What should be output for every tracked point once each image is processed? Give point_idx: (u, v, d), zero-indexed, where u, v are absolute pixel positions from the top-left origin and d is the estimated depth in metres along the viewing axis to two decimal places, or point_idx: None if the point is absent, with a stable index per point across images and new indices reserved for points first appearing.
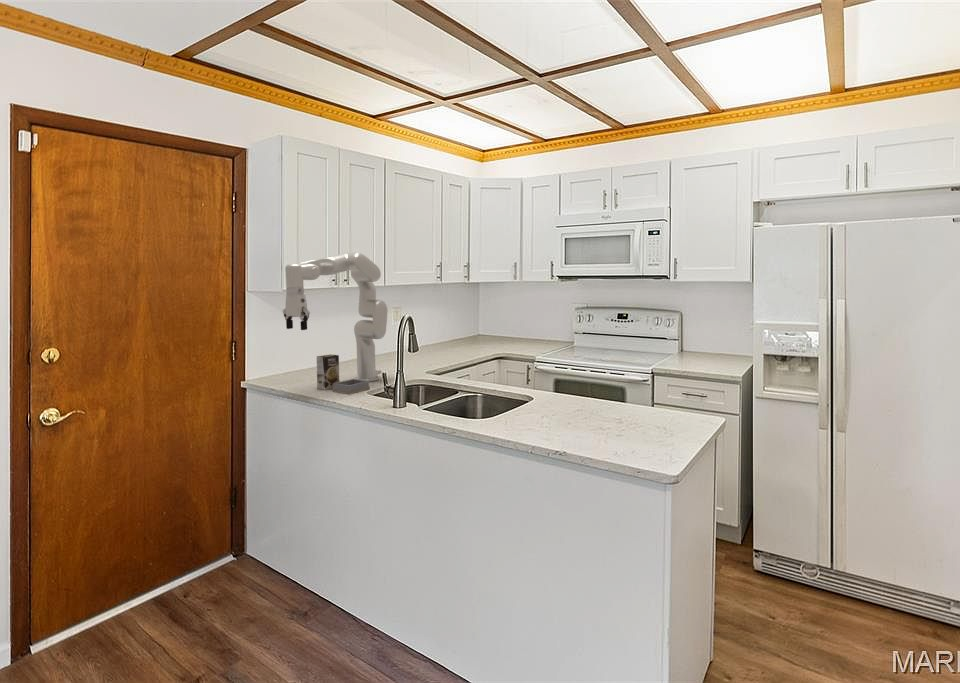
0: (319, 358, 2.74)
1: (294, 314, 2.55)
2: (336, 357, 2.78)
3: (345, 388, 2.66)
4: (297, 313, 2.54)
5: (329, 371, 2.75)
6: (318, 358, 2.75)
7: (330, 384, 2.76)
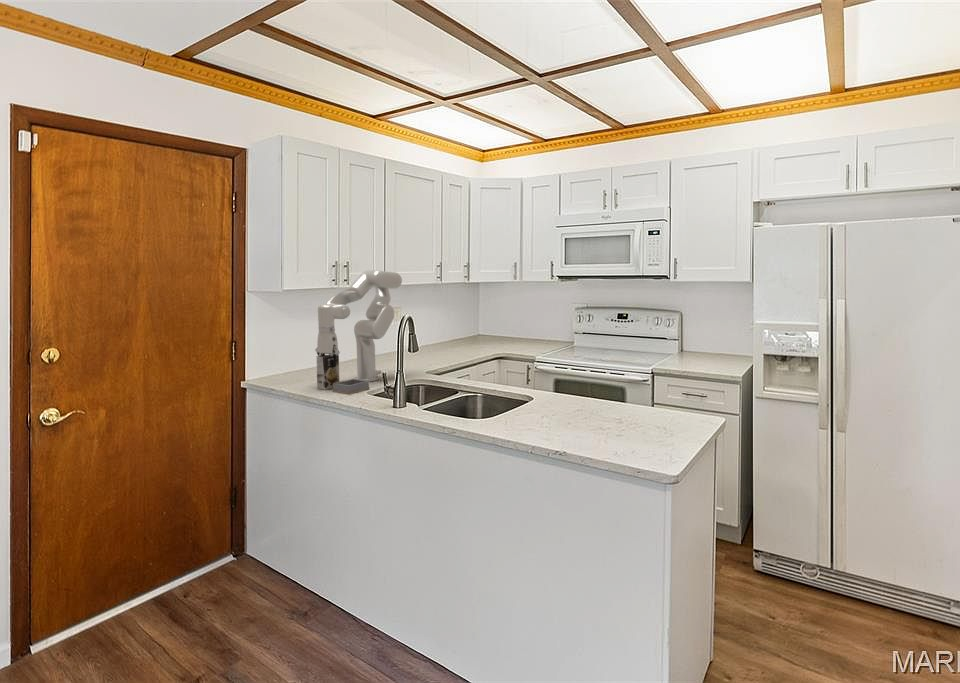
0: (319, 358, 2.74)
1: (326, 351, 2.75)
2: None
3: (345, 388, 2.66)
4: (329, 351, 2.73)
5: (329, 371, 2.75)
6: (318, 358, 2.75)
7: (330, 384, 2.76)
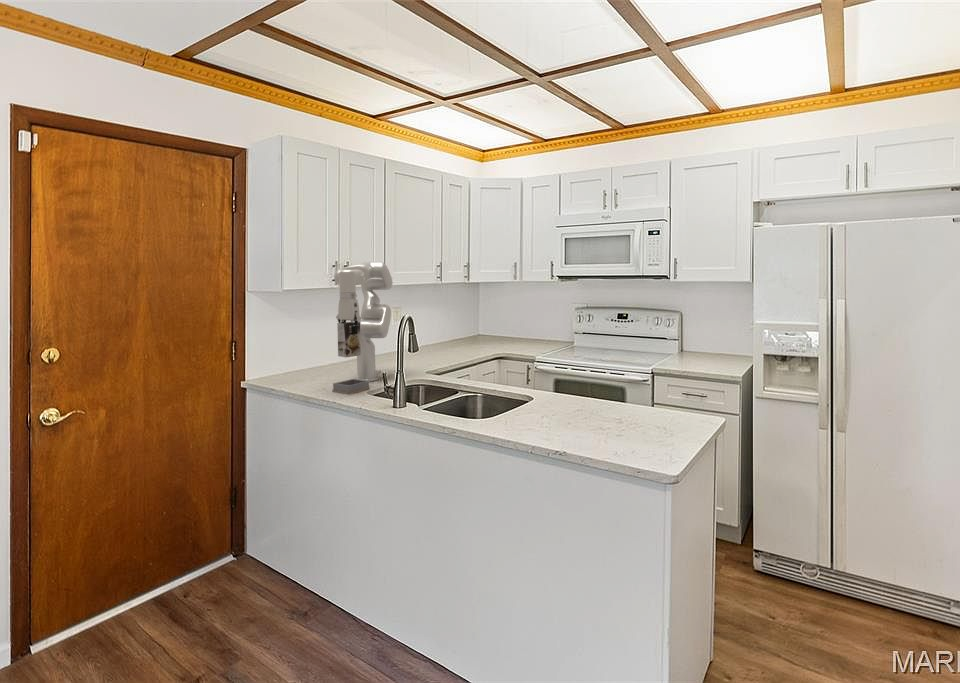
0: (340, 325, 2.66)
1: (347, 318, 2.66)
2: None
3: (345, 388, 2.66)
4: (350, 317, 2.65)
5: (351, 338, 2.67)
6: (339, 325, 2.67)
7: (351, 352, 2.68)
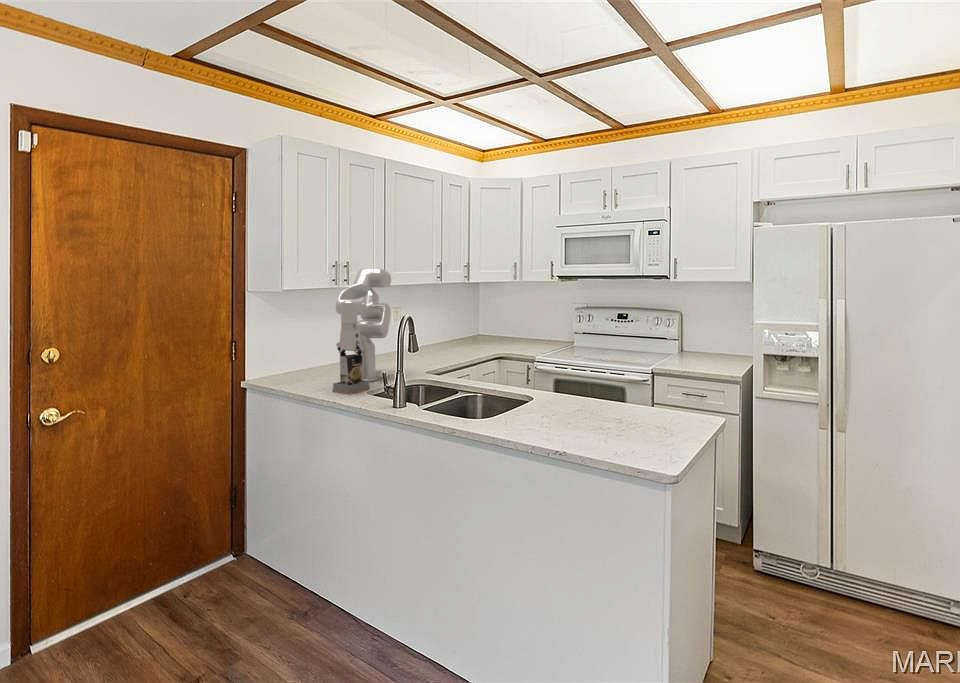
0: (343, 358, 2.68)
1: (349, 348, 2.68)
2: None
3: (345, 388, 2.66)
4: (352, 347, 2.67)
5: (353, 371, 2.69)
6: (342, 358, 2.69)
7: None
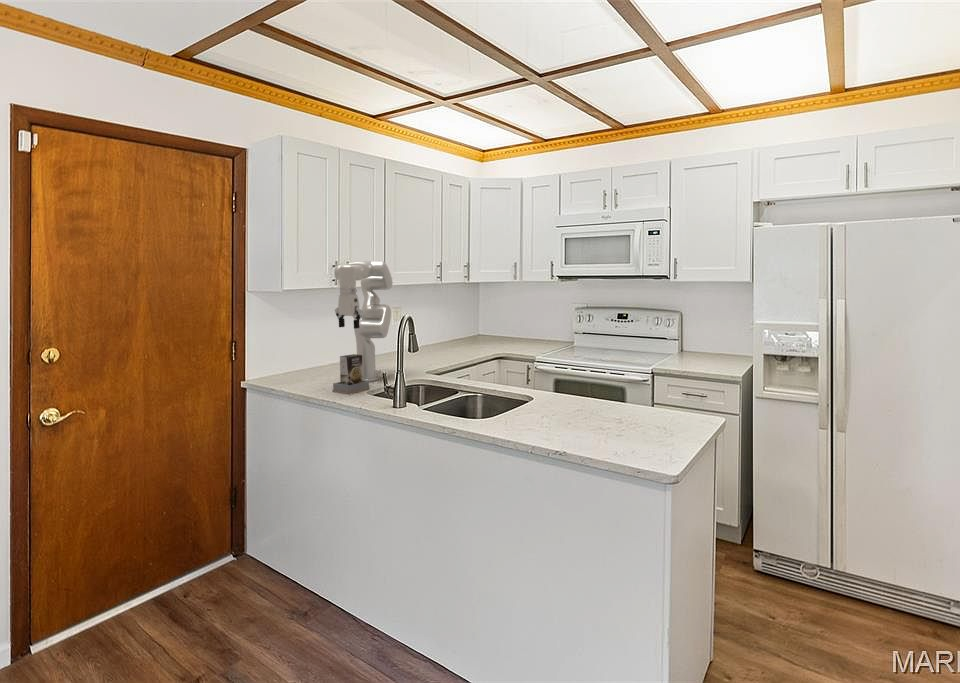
0: (343, 358, 2.68)
1: (347, 313, 2.66)
2: (360, 357, 2.72)
3: (345, 388, 2.66)
4: (350, 312, 2.65)
5: (353, 371, 2.69)
6: (342, 358, 2.69)
7: None
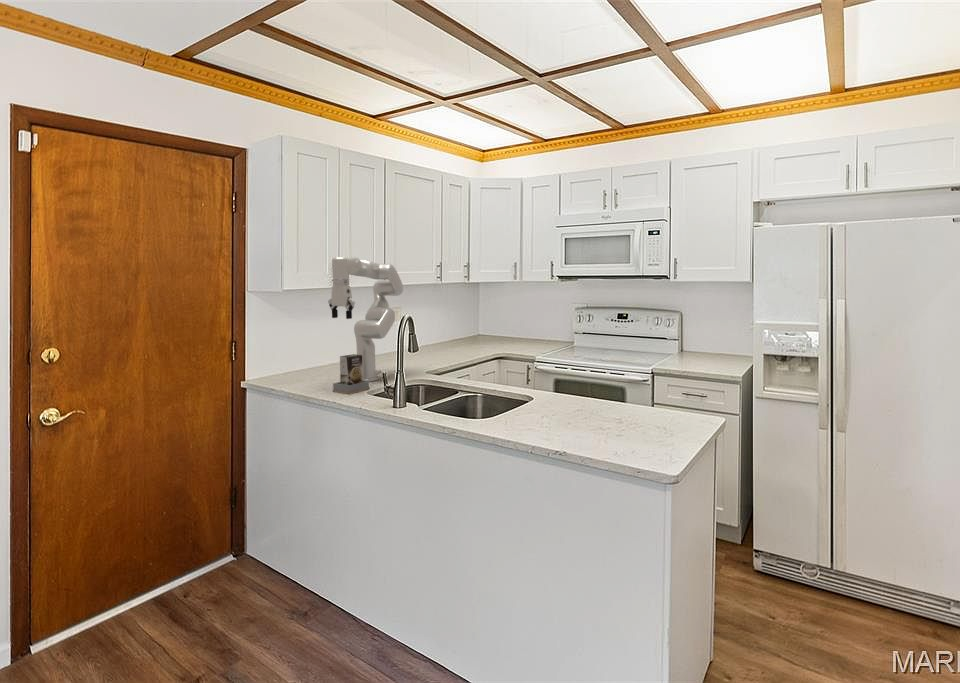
0: (343, 358, 2.68)
1: (340, 304, 2.73)
2: (360, 357, 2.72)
3: (345, 388, 2.66)
4: (343, 303, 2.72)
5: (353, 371, 2.69)
6: (342, 358, 2.69)
7: None
